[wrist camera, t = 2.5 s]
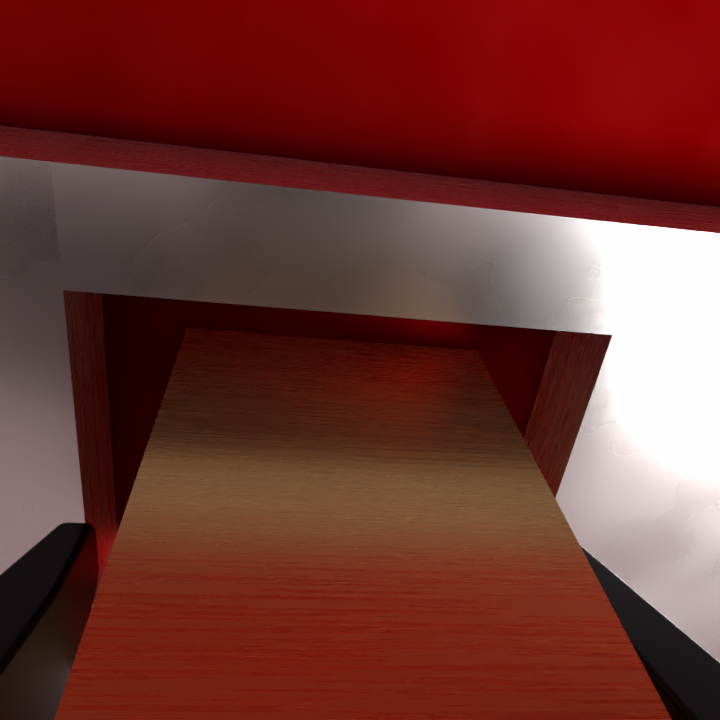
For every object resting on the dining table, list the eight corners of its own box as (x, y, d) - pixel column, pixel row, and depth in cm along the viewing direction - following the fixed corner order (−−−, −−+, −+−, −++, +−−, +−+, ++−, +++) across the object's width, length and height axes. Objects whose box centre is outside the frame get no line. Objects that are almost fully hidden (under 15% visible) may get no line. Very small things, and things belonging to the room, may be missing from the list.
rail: (1035, 243, 10) (1149, 280, 9) (769, 654, 15) (818, 720, 14) (-598, 56, 7) (-810, 69, 6) (-293, 644, 12) (-371, 728, 11)
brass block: (476, 349, 10) (730, 831, 4) (426, 556, 13) (549, 1072, 6) (186, 327, 10) (9, 855, 4) (186, 548, 12) (73, 1113, 6)
